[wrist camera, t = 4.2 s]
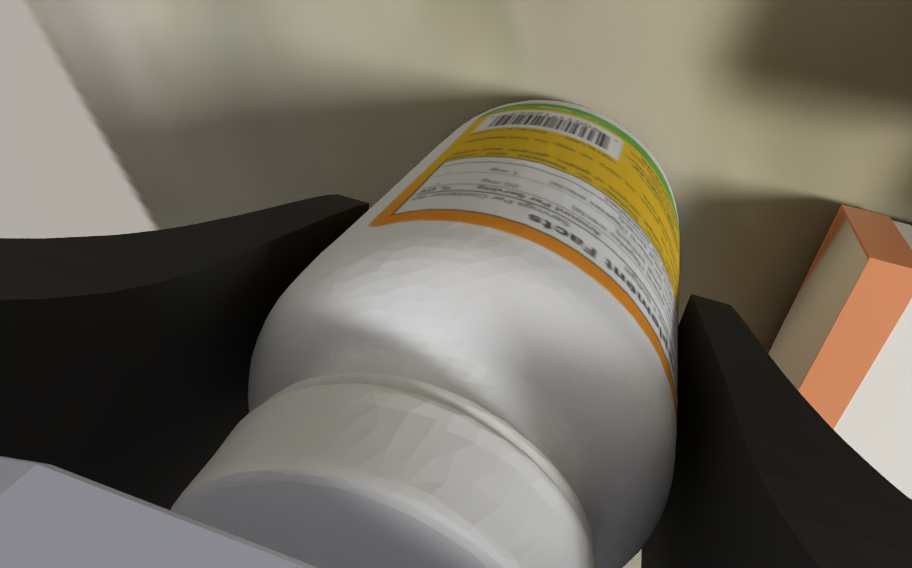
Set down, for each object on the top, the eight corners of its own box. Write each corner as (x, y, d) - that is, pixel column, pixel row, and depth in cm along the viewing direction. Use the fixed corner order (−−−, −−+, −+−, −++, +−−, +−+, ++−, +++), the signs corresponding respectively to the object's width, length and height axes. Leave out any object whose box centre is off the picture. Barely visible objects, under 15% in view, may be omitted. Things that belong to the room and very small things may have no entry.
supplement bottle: (506, 368, 16) (320, 834, 8) (375, 177, 15) (-11, 499, 7) (729, 278, 14) (794, 829, 5) (594, 37, 12) (407, 278, 4)
